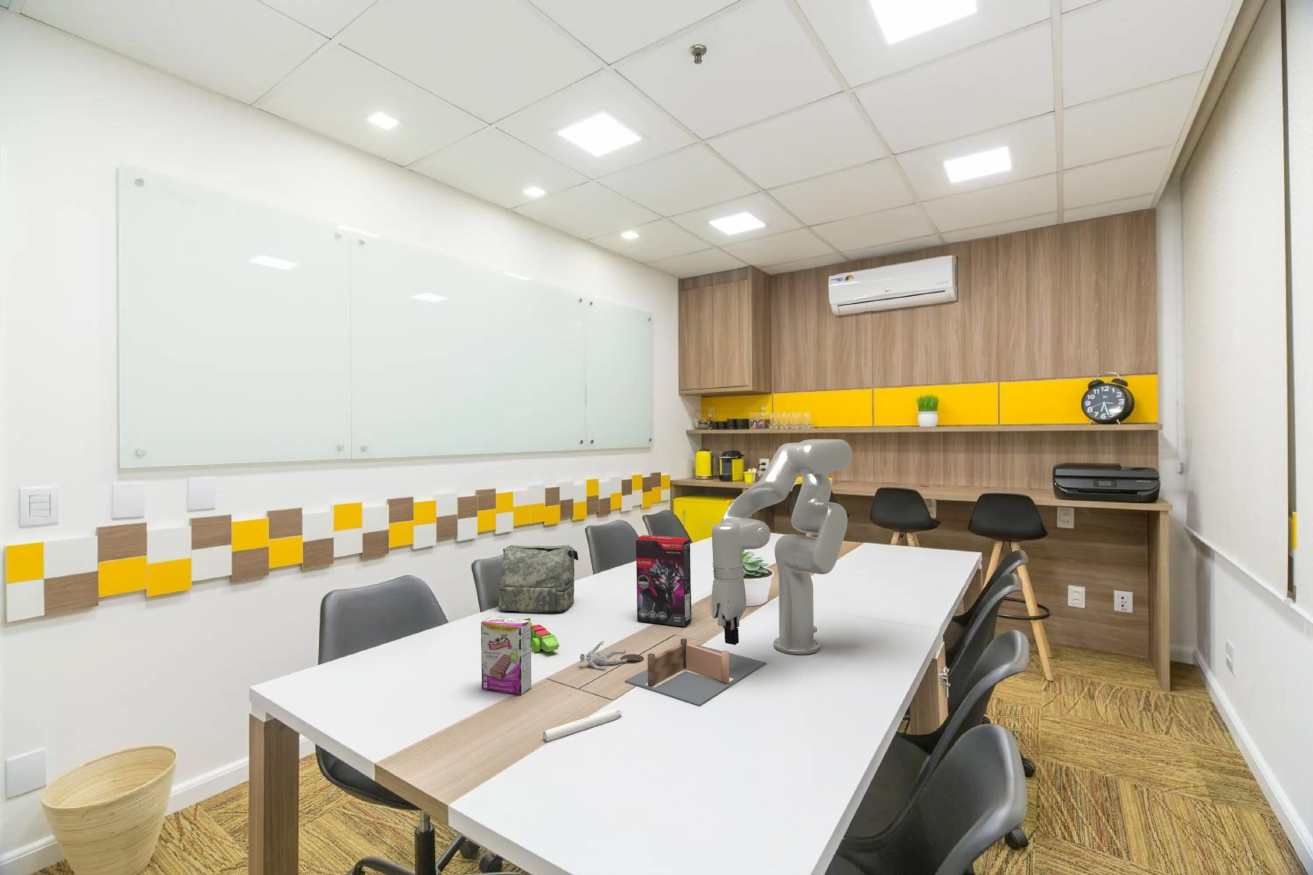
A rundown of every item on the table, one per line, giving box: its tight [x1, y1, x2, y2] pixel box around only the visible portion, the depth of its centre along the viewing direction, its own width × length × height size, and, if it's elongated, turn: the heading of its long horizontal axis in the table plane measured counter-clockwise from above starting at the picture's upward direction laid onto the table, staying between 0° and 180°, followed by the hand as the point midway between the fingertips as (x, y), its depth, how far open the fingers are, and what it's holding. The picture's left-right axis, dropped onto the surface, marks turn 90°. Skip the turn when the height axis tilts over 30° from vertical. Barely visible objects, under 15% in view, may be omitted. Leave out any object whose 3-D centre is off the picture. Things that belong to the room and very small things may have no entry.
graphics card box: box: [635, 534, 693, 627], centre depth 195 cm, size 17×7×27 cm, turn 67°
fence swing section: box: [686, 643, 730, 682], centre depth 150 cm, size 13×2×7 cm, turn 46°
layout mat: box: [624, 644, 767, 707], centre depth 153 cm, size 31×22×1 cm
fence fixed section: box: [647, 638, 688, 686], centre depth 150 cm, size 15×2×7 cm, turn 142°
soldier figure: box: [579, 640, 628, 671], centre depth 159 cm, size 8×5×12 cm
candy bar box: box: [480, 616, 532, 696], centre depth 144 cm, size 11×5×16 cm, turn 71°
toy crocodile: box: [523, 617, 560, 653], centre depth 174 cm, size 20×7×6 cm, turn 31°
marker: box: [542, 708, 623, 743], centre depth 125 cm, size 18×2×2 cm, turn 126°
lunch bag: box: [498, 544, 579, 613], centre depth 213 cm, size 26×18×22 cm
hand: (731, 642), depth 155 cm, fingers closed
